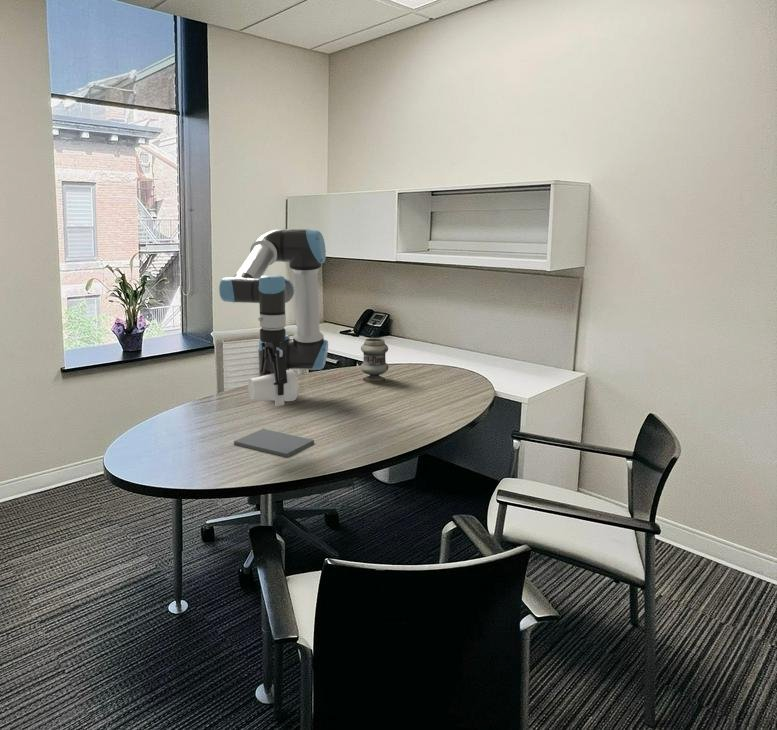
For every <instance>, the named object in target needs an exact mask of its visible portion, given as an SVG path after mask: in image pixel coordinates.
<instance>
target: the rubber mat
mask: <svg viewBox="0 0 777 730" xmlns="http://www.w3.org/2000/svg"><path fill="white" fill-rule="evenodd" d="M313 444H315V439H310V438H306V437H302V436H297V435H294V434H293V435H292V434H289V433H285V432H280V431H275V430H271V429H265V428H262V429H259V430H257V431H255V432H253V433H250V434H247V435H245V436H243V437H241V438H238V439H236V440H234V441H233V445H235V446H241V447H244V448H248V449H253V450H257V451H261V452H264V453H269V454H273V455H276V456H280V457H285V458H287V457H290V456H291V455H293V454H296V453H298V452H299V451H302V450H303V449H306V448H307V447H309V446H312V445H313Z"/></svg>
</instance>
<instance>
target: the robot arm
mask: <svg viewBox="0 0 777 730" xmlns="http://www.w3.org/2000/svg"><path fill="white" fill-rule="evenodd" d="M249 250H250V251H249V253H248V256H247V257H246V258H245V259H244V261H243V263H242V264H241V265H240V267H239V269H238V270H237V272H236V273H235V274H234V276H233V277H231V276H229V277H222V278H221V280H220V282H219V286H218V287H219V290H218V291H219V296H220V299H221V300H222V301H224V302H225V303H226V302H227V303H242V304H243V303H244V304H245V303H248V304H249V303H251V304H259V317H258V318H257V320H258V322H259V327H261V328H260V329H259V341H258V369H259V371H258V372H259V374H258V377H260V376H265V375H269V374H273V373H274V375H275V381H276V382H275V383H274V385H275V401H274V406H275V407H277V406H278V407H279V406H284V405H285V401H284V384H285V383H287V373H286V370H306V371H307V370H311V371H313V370H315V371H316V370H323V369H324V367H325V366H326V362H327V357H328V351H329V341H328V340H327V339H325V338H324V333H322V332H321V331H320V312H319V311H320V308H319V307H320V306H319V305H320V303H319V280H318V279H319V278H318V273H319V270H321V268H322V264H324V263H326V259H327V258H326V257H327V255H326V244H325V239H324V236H323V233H321V231H319V230H314V229H310V228H308V229H306V228H305V229H304V228H302V229H298V228H297V229H295V228H294V229H293V228H292V229H290V228H288V229H287V228H286V229H285V228H278V229H273V230H270V231H267V232H265V233H263V234H262V235H260V236H259V237H258V238H256V239H255V240H254V241H253V242H252V244H251V246H250V249H249ZM275 262H279V263H280V262H281V263H289V269H290V270H291V271H292V272H293V279H294V284H293V283H292V281H291V280H289V279H288V278H285V277H284V276H283V275H280V274H265V273H266V271H267V269H268V268H269V267H270V265H272V264H274V263H275ZM294 296H295V297H294ZM293 297H294V303H295V318H296V319H295V320H296V332H295V333H294V334H293V335H292V338H290V336H289V334H286V333H287V332H286V331H287V330H286V329H285V328H286V325H287V324H286V323H287V322H286V319H287V318H286V303H288V302H290V301H291V300H292V299H293ZM281 379H282V380H281Z"/></svg>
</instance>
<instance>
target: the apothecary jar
mask: <svg viewBox="0 0 777 730" xmlns="http://www.w3.org/2000/svg"><path fill="white" fill-rule="evenodd" d="M360 350H361V352H362V353H363V360H362V361H363V362H362V363H361V365H360V370H361V372H363V373H364V374H366V375H367V376H364V377H363V378H362V380H363V381H364V382H366V383H372V384H380V383H384V382H386V377H383V376H381V375H384V374H385V373H387V372H388V370H389V365H388V363H387V362H386V353H387V352H388V351H389V346H388V345H387V344H386V343H385V339H384V338H382V337H368V338H365V339H364V342H363V344H362V345H361V346H360Z"/></svg>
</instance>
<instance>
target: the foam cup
mask: <svg viewBox="0 0 777 730" xmlns="http://www.w3.org/2000/svg"><path fill="white" fill-rule="evenodd" d="M286 373H287V383H285V384H284V402H291V401H295V400H297V397H298V393H299V385H298V384H299V383H298V379H297V375H296V373H295V371H294V370H293V369H289V370H286ZM281 380H282V379H281ZM275 382H276V381H275V375H274V373H273V374H269V375H265V376H260V377H259V376H257V377H253V378H250V379H248V383H247V392H248V396H249V398H250V400H251V401H274V402H275V385H274V383H275Z"/></svg>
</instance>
